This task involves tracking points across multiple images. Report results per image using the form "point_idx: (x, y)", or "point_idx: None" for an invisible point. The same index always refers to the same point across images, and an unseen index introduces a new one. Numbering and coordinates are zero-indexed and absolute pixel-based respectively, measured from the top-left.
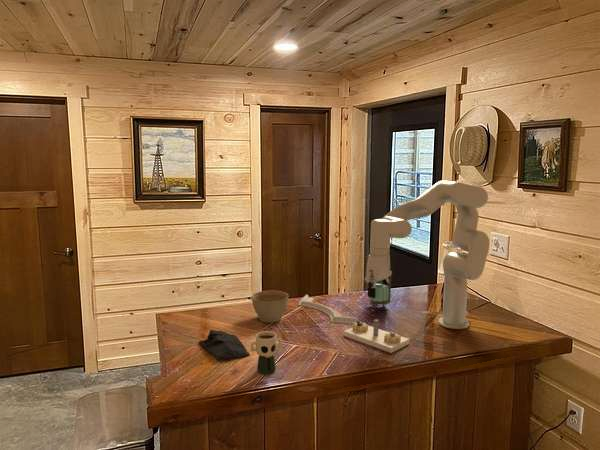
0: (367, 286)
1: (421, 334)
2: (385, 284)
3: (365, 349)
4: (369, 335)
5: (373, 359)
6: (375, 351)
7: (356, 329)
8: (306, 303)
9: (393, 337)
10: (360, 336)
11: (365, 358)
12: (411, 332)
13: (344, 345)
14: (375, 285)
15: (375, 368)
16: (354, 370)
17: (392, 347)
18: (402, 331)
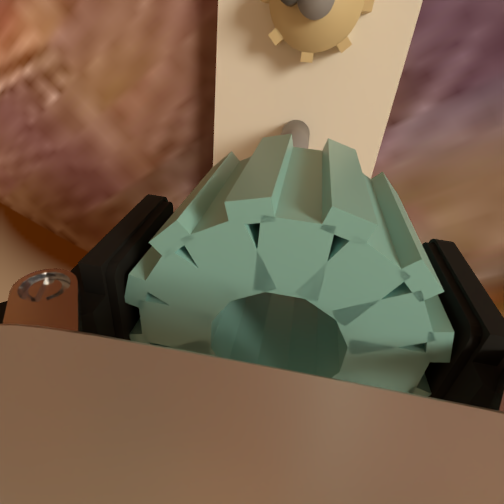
0: (34, 279)
1: (481, 270)
2: (427, 395)
3: (170, 145)
4: (266, 109)
5: (125, 214)
6: (185, 189)
7: (265, 2)
8: None
9: None
10: (221, 73)
11: (107, 187)
12: (489, 228)
13: (128, 29)
14: (293, 293)
15: (82, 247)
16: (15, 201)
17: None
18: (485, 188)
